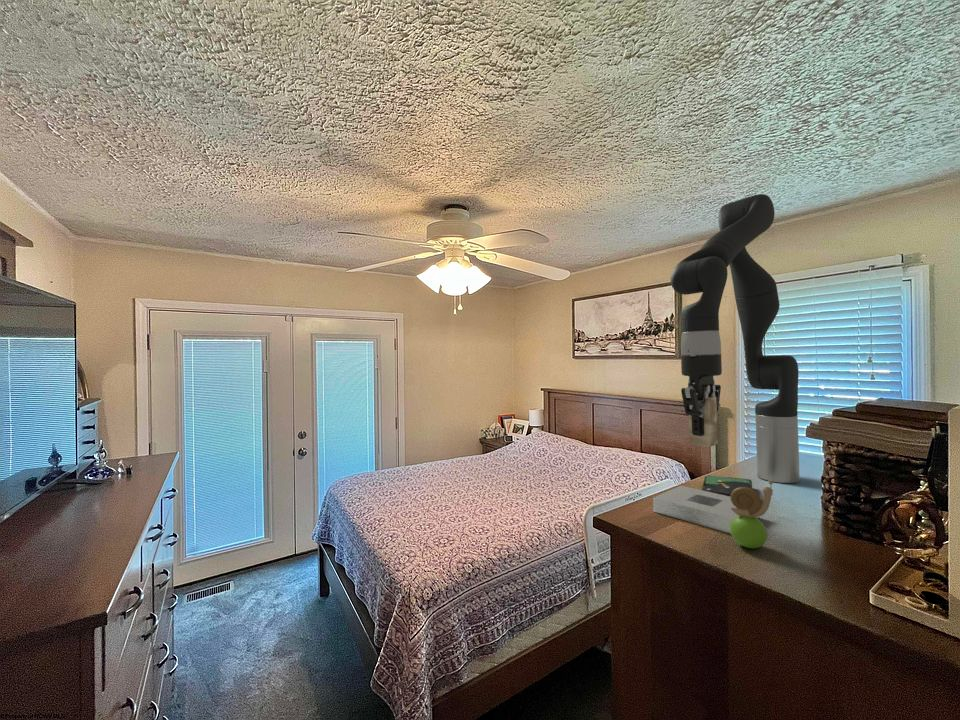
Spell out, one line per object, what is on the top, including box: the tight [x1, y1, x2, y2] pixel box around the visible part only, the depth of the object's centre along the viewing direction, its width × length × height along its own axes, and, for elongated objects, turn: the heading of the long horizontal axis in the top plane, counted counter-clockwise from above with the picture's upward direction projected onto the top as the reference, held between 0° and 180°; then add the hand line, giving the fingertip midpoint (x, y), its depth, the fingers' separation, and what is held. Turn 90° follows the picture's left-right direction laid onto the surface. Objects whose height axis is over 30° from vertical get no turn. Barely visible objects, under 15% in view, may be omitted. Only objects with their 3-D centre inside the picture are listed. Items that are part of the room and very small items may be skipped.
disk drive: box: [701, 474, 753, 496], centre depth 98 cm, size 10×3×15 cm
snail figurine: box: [730, 480, 774, 549], centre depth 70 cm, size 5×6×12 cm
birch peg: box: [688, 397, 719, 448], centre depth 85 cm, size 4×4×10 cm
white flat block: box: [652, 485, 760, 535], centre depth 85 cm, size 13×16×3 cm
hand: (703, 433), depth 85 cm, fingers closed on birch peg, 4 cm apart
